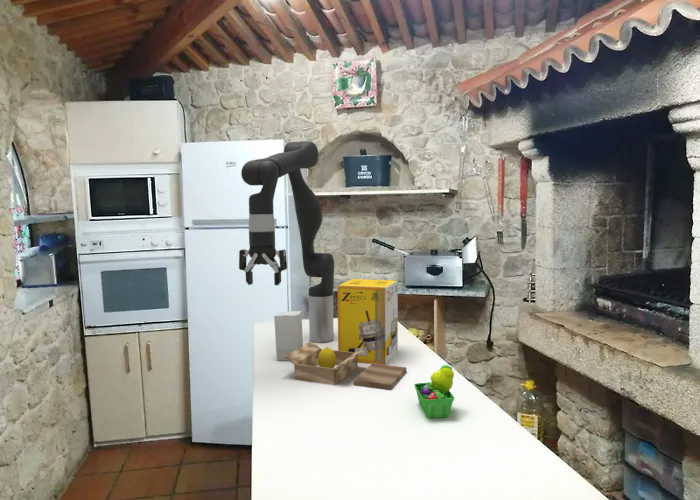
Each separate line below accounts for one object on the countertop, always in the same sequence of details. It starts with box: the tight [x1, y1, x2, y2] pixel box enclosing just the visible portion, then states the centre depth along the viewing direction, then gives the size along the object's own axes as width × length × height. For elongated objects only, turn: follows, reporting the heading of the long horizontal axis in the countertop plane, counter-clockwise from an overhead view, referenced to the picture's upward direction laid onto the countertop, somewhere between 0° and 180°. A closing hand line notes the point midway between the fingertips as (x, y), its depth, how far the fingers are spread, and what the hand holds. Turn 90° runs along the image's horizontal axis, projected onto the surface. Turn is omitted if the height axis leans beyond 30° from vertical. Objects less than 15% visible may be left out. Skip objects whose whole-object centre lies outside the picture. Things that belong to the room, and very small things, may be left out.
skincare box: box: [273, 310, 304, 362], centre depth 166 cm, size 8×7×16 cm
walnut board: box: [353, 363, 407, 391], centre depth 146 cm, size 16×11×2 cm
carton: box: [285, 341, 367, 386], centre depth 151 cm, size 17×20×7 cm
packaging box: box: [337, 278, 399, 365], centre depth 168 cm, size 16×16×25 cm
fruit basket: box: [414, 364, 455, 419], centre depth 122 cm, size 11×9×11 cm
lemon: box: [318, 346, 336, 368], centre depth 151 cm, size 6×6×8 cm
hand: (263, 284), depth 146 cm, fingers open, 8 cm apart
